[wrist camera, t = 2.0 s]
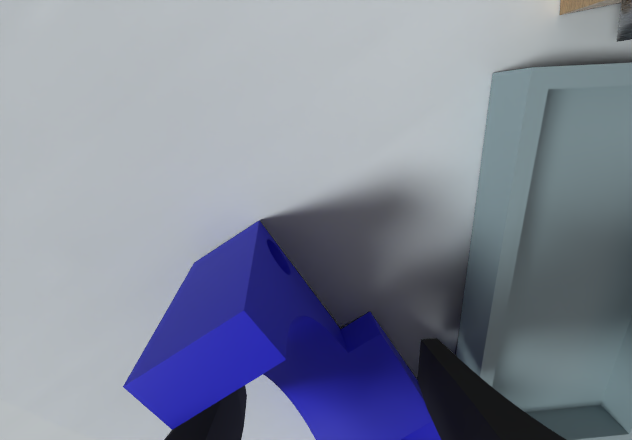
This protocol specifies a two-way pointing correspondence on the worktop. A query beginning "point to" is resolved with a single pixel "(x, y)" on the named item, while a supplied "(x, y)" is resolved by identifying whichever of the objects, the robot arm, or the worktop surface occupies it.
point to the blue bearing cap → (275, 350)
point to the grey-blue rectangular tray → (555, 249)
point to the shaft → (628, 21)
